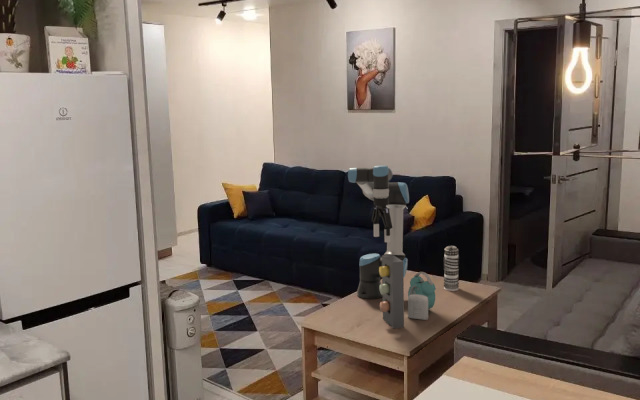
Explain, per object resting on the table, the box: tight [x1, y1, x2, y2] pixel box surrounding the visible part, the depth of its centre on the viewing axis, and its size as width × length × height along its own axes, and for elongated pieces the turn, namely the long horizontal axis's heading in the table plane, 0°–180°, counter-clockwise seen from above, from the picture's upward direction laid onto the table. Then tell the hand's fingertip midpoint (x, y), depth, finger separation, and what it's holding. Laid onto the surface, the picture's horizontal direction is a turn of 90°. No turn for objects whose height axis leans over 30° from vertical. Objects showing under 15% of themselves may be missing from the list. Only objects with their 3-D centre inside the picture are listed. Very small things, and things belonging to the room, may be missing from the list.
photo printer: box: [407, 294, 429, 321], centre depth 303 cm, size 10×4×12 cm, turn 69°
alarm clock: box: [407, 271, 436, 310], centre depth 314 cm, size 17×10×20 cm, turn 23°
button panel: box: [381, 254, 405, 329], centre depth 296 cm, size 6×14×33 cm, turn 16°
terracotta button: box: [379, 301, 390, 313], centre depth 296 cm, size 4×5×5 cm
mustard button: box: [379, 266, 390, 277], centre depth 293 cm, size 4×5×5 cm
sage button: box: [379, 283, 390, 294], centre depth 294 cm, size 4×5×5 cm
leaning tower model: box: [442, 245, 460, 292], centre depth 347 cm, size 9×9×25 cm
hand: (381, 239), depth 299 cm, fingers open, 13 cm apart
